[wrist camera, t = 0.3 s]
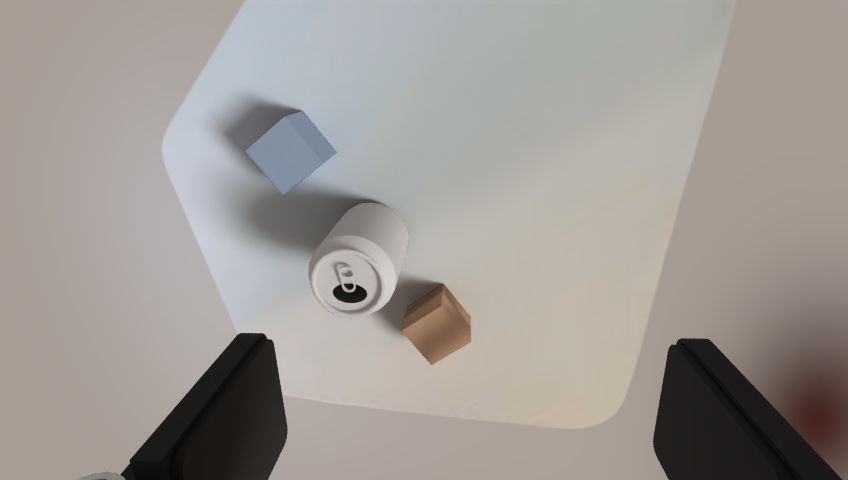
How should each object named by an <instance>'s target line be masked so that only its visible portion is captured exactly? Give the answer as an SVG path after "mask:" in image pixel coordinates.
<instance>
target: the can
mask: <svg viewBox="0 0 848 480" xmlns="http://www.w3.org/2000/svg"><path fill="white" fill-rule="evenodd" d="M408 240H409V237H408V232H407V227H406V225H405V223H404V222H403V220H402V218H401V217H400V216H399V215H398V214H397V213H396V212H395V211H394V210H393V209H391V208H389V207H387V206H385V205H383V204H378V203H372V202H370V203H363V204H358V205H356V206H354V207H352V208H350V209H349V210H348V211H347V212H346V213H345V214H344V215H343V216H342V217H341V219H340V220H339V221H338V222H337V224H336V225H335V226H334V228H333V229H332V230H331V231H330V233H329V234H328V235H327V236H326V238H325V239H324V240H323V242H322V243H321V244H320V245H319V247H318V248H317V249H316V250H315V252H314V254H313V256H312V258H311V261H310V263H309V279H310V284H311V287H312V291H313V294H314V296H315V297H316V299H317V300H318V302H319V303H320V304H321V305H322V306H323V307H324V308H325V309H327V310H328V311H329V312H331V313H333V314H336V315H338V316H341V317H347V318H357V317H363V316H365V315H368V314H370V313H372V312H375V311H377V310H380V309H381V308H382V307H383V306H384V305H385V304H386V303H387V302H389V300H390V298H391V296H392V294H393V292H394V291H395V287H396V284H397V281H398V277H399V274H400V271H401V267H402V264H403V261H404V257H405V254H406V251H407V246H408Z"/></svg>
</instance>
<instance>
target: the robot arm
mask: <svg viewBox="0 0 848 480" xmlns="http://www.w3.org/2000/svg"><path fill="white" fill-rule="evenodd" d="M286 439H287V423H286V416H285V410H284V404H283V397H282V391H281V385H280V379H279V373H278V367H277V360H276V354H275V348H274V343H273V341H272V340H271V339H267V337H266V336H265V334H263V333H240V334H238V335H237V336H236V337H235V338H234V340H233V341H232V342H231V343H230V344H229V346H228V347H227V348H226V349H225V350H224V351H223V353H222V354H221V355H220V356H219V357H218V358H217V359H216V361H215V362H214V363H213V364H212V365H211V366H210V368H209V369H208V370H207V371H206V372H205V373H204V374H203V376H202V377H201V378H200V379H199V381H197V383H196V384H195V385H194V386H193V387H192V388H191V390H190V391H189V392H188V393H187V394H186V395H185V397H184V398H183V399H182V400H181V401H180V402H179V404H178V405H177V406H176V407H175V408H174V409H173V411H172V412H171V413H170V414H169V415H168V416H167V417H166V419H165V420H164V421H163V422H162V423H161V424H160V426H159V427H158V428H157V429H156V430H155V432H154V433H153V434H152V435H151V436H150V437H149V438H148V440H147V441H146V442H145V443H144V444H143V445H142V446H141V448H140V449H139V450H138V451H137V452H136V454H135V455H134V456H133V457H132V458H131V459H130V464H129V465H128V466H127V468H126V469H125V470H124V471H123V472H122V473H121V475H119V474H117V473H110V472H103V473H96V474H91V475H88V476H85V477H82V478H80V479H77V480H268V478H269V476H270V474H271V472H272V470H273V468H274V466H275V464H276V462H277V460H278V457H279V455H280V453H281V451H282V449H283V447H284V445H285V442H286ZM653 444H654V450H655V453H656V456H657V458H658V460H659V462H660V464H661V466H662V468H663V469H664V471H665V473H666V475H667V477H668V479H669V480H842V479H841V478H840V477H839V476H838V475H837V474H836V473H835V472H834V471H833V470H832V468H831V467H830V466H829V465H828V464H827V463H826V462H825V461H824V460H823V459H822V458H821V457H820V456H819V455H818V454H817V453H816V451H815V450H814V449H813V448H812V447H811V446H810V445H809V444H808V443H807V442H806V441H805V440H804V439H803V438H802V437H801V436H800V435H799V433H798V432H797V431H796V430H795V429H794V428H793V427H792V426H791V425H790V424H789V423H788V422H787V421H786V420H785V419H784V418H783V417H782V416H781V414H780V413H779V412H778V411H777V410H776V409H775V408H774V407H773V406H772V405H771V404H770V403H769V402H768V401H767V400H766V399H765V398H764V397H763V396H762V394H761V393H760V392H759V391H758V390H757V389H756V388H755V387H754V386H753V385H752V384H751V383H750V382H749V381H748V380H747V379H746V378H745V376H744V375H743V374H742V373H741V372H740V371H739V370H738V369H737V368H736V367H735V366H734V365H733V364H732V363H731V362H730V361H729V360H728V359H727V357H726V356H725V355H724V354H723V353H722V352H721V351H720V350H719V349H718V348H717V347H716V346H715V345H714V344H713V343H712V342H711V341H710V340H709V339H685V338H684V339H683V338H682V339H679V340H678V341H677V343H676V345H671V346H670V347H669V350H668V355H667V361H666V368H665V373H664V378H663V384H662V391H661V396H660V402H659V408H658V415H657V420H656V426H655V432H654V438H653Z"/></svg>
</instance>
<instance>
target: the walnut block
mask: <svg viewBox="0 0 848 480" xmlns="http://www.w3.org/2000/svg"><path fill="white" fill-rule="evenodd" d="M402 332H403V333H404V334H405V335H406V337H407V338H408V339H409V340H410V341H411V342H412V343H413V345H414V346H415V347H416V348H417V349H418V350H419V351H420V353H421V354H422V355H423V356H424V357H425V358H426V359H427V361H428V362H429V363H430V364H431V365H433V364H434V363H436V362H438V361H439V360H441V359H443V358H445V357H446V356H448V355H450V354H451V353H453V352H455V351H456V350H458V349H460V348H462V347H463V346H465V345H467V344H468V343H470V342H471V323H470V316H469V314H468V313H467V312H466V311H465V310H464V308H463V307H462V306H461V305H460V303H459V302H458V301H457V300H456V298H455V297H454V296H453V295H452V294H451V292H450V291H449V290H448V289H447V287H446V286H445V285H444V284H442V285H440V286H439V287H437V288H436V289H434V290H433V291H431V292H430V293H428V294H427V295H425V296H423V297H422V298H420V299H419V300H417V301H416V302H414V303H413V304H411V305H409V306H408V307H407V310H406V315H405V319H404V323H403V328H402Z"/></svg>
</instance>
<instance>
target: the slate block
mask: <svg viewBox="0 0 848 480" xmlns="http://www.w3.org/2000/svg"><path fill="white" fill-rule="evenodd" d="M245 152H246V153H247V154H248V155H249V156H250V157H251V159H252V160H253V161H254V162H255V163H256V164H257V165H258V167H259V168H260V169H261V170H262V171H263V172H264V174H265V175H266V176H267V177H268V178H269V179H270V180H271V182H272V183H273V184H274V185H275V186H276V187H277V188H278V190H279V191H280V192H281V193H282V194H283V195H284V194H285V193H286V192H288V191H289V190H290V189H292V188H293V187H295V186H296V185H297V184H299V183H300V182H301V181H303V180H304V179H305V178H306V177H307V176H309V175H310V174H311V173H312V172H314V171H315V170H316V169H317V168H319V167H320V166H321V165H322V164H323V163H325V162H326V161H327V160H328V159H330V158H331V157H332V156H333V155H335V154H336V153H337V152H336V151H335V150H334V148H333V147H332V146H331V145H330V143H329V142H328V141H327V140H326V138H325V137H324V136H323V135H322V134H321V132H320V131H319V130H318V129H317V127H316V126H315V125H314V124H313V122H312V121H311V120H310V119H309V118H308V116H307V115H306V114H305V113H304V111H301V112H297V113H294V114H291V115H287V116H284V117H283V118H282V119H281V120H280V121H279V122H278V123H276V124H275V125H274V126H273V127H272V128H271V129H270V130H268V131H267V132H266V133H265V134H264V135H263V136H262V137H260V138H259V139H258V140H257V141H256V142H255V143H254V144H252V145H251V146H250V147H249V148H248V149H247V150H246V151H245Z"/></svg>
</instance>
